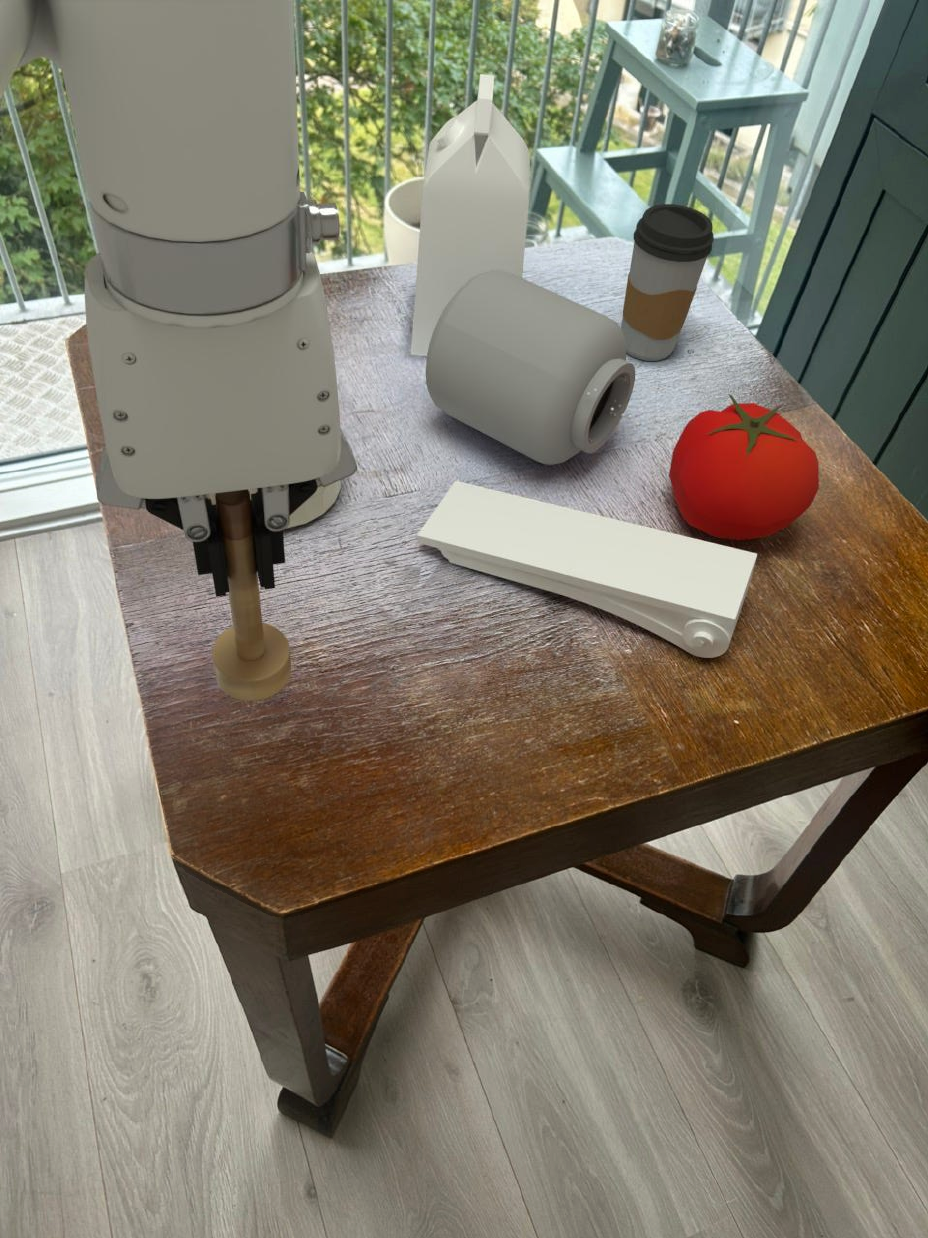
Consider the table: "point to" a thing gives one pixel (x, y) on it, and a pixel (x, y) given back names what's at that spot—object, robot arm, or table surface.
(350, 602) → the table surface
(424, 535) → the wall bracket
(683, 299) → the coffee cup
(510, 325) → the jar
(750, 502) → the tomato
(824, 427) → the table surface
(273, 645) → the stirrer
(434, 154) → the milk
